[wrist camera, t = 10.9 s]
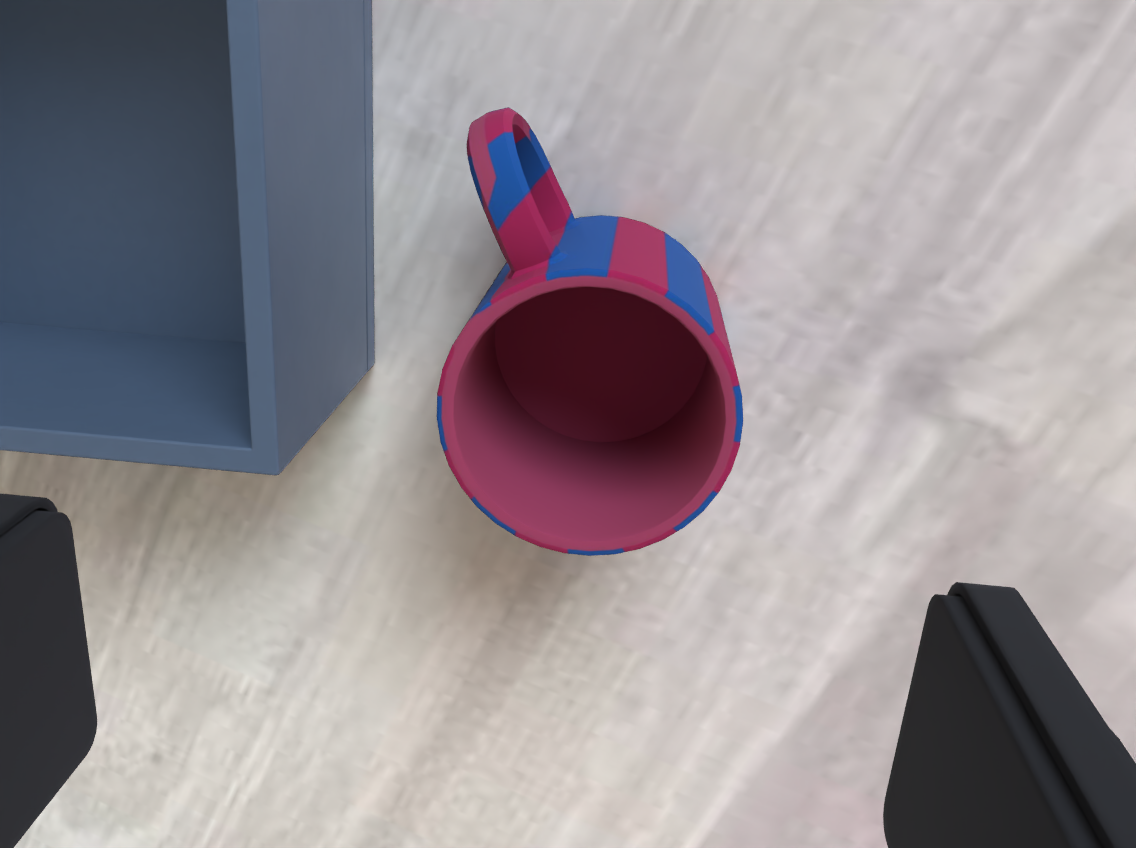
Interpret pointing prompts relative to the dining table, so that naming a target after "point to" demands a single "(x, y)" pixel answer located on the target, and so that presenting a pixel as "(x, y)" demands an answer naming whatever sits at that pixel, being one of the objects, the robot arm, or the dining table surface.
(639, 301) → the cup
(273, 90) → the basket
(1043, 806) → the robot arm
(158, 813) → the dining table surface
